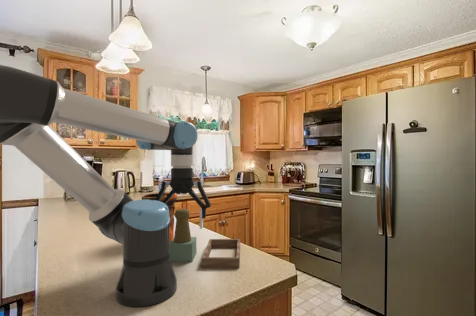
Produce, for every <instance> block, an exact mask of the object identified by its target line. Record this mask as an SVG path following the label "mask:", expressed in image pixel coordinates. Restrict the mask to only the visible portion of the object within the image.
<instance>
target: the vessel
mask: <svg viewBox="0 0 476 316" xmlns="http://www.w3.org/2000/svg"><path fill="white" fill-rule="evenodd" d="M158 193H159V192H156V193H147V194H143V195H142V196H141V200H155V199H156V197H157V195H158ZM169 193H170V191H169V192H168V191H167V192H164V194H163V196H162V198H161V200H160V202H162V201H163V200H164V199H165V198H166V196H167V195H168V194H169ZM177 200H178V194H176V193H175V194H174V195H173V196H172V197H171V198H170V199H169V201H168V202H167V203H166V205H167V206H168V209H169V216H170V222H169V229H170V242H171V241H172V240H173V238H174V235H175V211H176V210H175V209H176V206H175V205H176V204H175V203H176V201H177Z"/></svg>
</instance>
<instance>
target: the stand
mask: <svg viewBox="0 0 476 316" xmlns="http://www.w3.org/2000/svg"><path fill="white" fill-rule="evenodd" d="M196 256H197V236H191V241H190V242H187V243H175V242H174V238H173V240H172V241H171V242H170V262H171V263H174V262H175V263H181V262H183V263H186V262H187V263H188V262H189V263H191V262H193V261H194V259H195V257H196Z"/></svg>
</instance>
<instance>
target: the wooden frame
mask: <svg viewBox="0 0 476 316" xmlns="http://www.w3.org/2000/svg"><path fill="white" fill-rule="evenodd" d="M213 248H226V249H227V248H234V249H235V248H236V256H232V257H231V256H229V257H228V256H227V257H226V256H223V257H222V256H219V257H218V256H217V257H215V256H213V257H212V256H211V251H212V249H213ZM210 256H211V257H210ZM240 260H241V238H217V239H216V238H210V239H209V240H208V242H207V245H206V248H205V249H204V252H203V254H202V257H201V269H209V268H210V269H233V268H234V269H236V268H240V262H241V261H240Z"/></svg>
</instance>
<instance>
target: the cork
mask: <svg viewBox="0 0 476 316" xmlns="http://www.w3.org/2000/svg"><path fill="white" fill-rule="evenodd" d="M190 215H191V213H190V210H189V209H187V208H180V209H176V210H175V211H174V219H175V220H176V221H175V226H174V242H175V243H187V242H190V241H191V237H192V236H191V228H190V221H189V219H190Z"/></svg>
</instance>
